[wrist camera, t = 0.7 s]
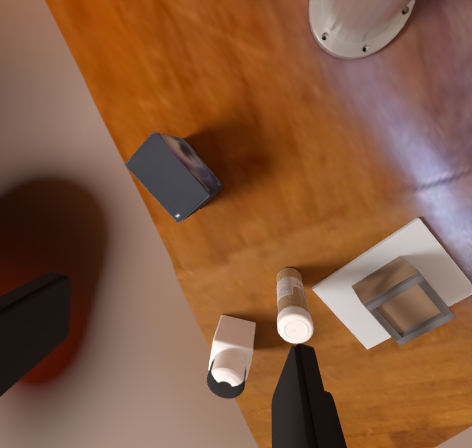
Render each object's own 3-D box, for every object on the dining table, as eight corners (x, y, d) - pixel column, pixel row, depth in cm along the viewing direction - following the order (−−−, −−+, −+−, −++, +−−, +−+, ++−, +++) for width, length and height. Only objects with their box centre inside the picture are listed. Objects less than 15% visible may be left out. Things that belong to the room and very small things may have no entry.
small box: (227, 185, 40) (212, 195, 30) (200, 209, 42) (177, 226, 32) (184, 135, 38) (153, 129, 28) (159, 163, 40) (121, 165, 30)
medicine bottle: (250, 350, 48) (243, 410, 37) (216, 341, 49) (199, 398, 38) (256, 321, 46) (251, 376, 35) (221, 313, 47) (205, 364, 36)
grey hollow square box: (399, 255, 38) (421, 272, 33) (432, 294, 39) (458, 317, 34) (351, 286, 41) (363, 306, 35) (382, 321, 42) (399, 347, 36)
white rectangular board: (417, 217, 37) (419, 218, 36) (474, 289, 38) (477, 291, 38) (311, 287, 42) (312, 289, 42) (366, 346, 44) (367, 349, 44)
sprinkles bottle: (306, 282, 42) (320, 338, 30) (283, 292, 44) (288, 349, 31) (294, 262, 42) (303, 309, 29) (271, 273, 43) (270, 323, 30)
